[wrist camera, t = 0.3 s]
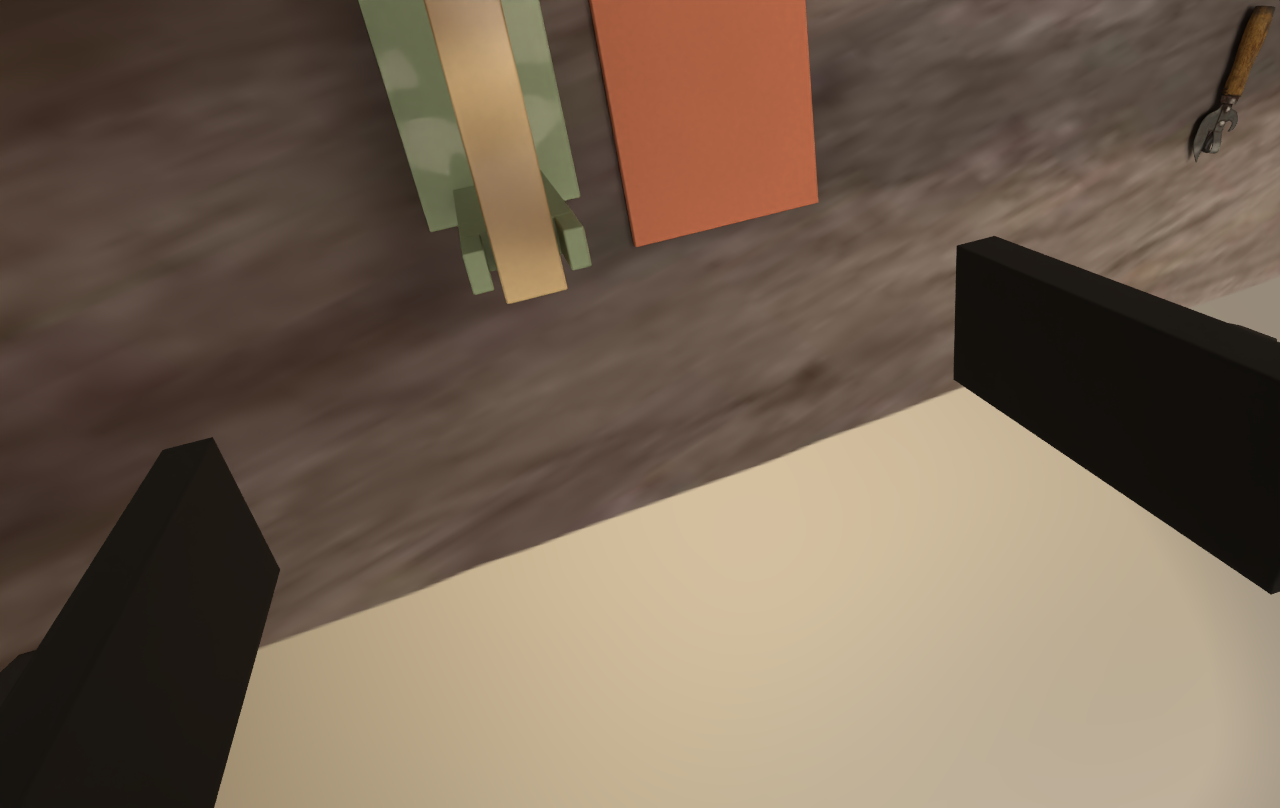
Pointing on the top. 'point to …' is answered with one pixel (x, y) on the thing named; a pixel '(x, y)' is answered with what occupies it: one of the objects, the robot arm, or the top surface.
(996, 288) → the robot arm
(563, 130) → the rack
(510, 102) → the hanger bar
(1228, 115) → the can opener
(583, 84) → the top surface
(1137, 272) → the top surface
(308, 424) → the top surface
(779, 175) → the mat
